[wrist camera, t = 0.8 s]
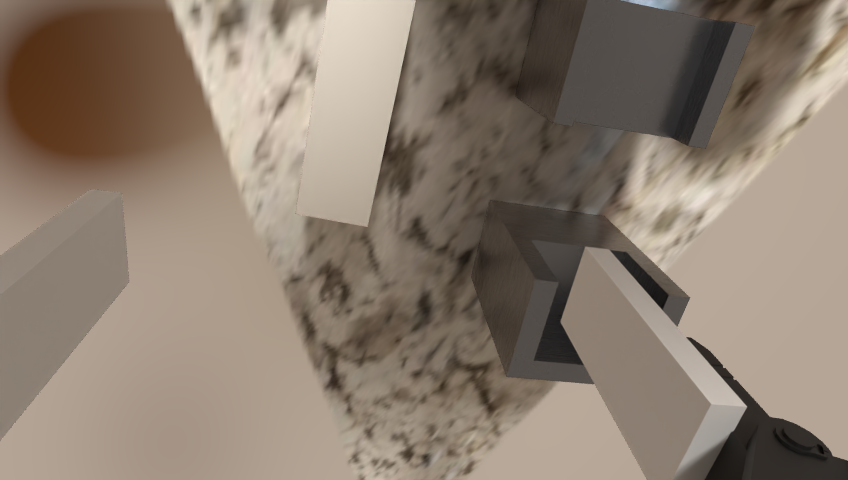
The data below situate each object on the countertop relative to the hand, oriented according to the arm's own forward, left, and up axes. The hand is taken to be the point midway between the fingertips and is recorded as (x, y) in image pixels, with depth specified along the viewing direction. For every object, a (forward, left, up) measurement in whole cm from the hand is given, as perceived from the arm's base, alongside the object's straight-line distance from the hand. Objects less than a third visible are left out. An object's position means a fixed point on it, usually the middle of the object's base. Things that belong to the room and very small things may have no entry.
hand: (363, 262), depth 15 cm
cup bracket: (+7, +13, -19) cm, 24 cm away
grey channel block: (-6, +13, -19) cm, 24 cm away
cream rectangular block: (-2, -1, -20) cm, 20 cm away
